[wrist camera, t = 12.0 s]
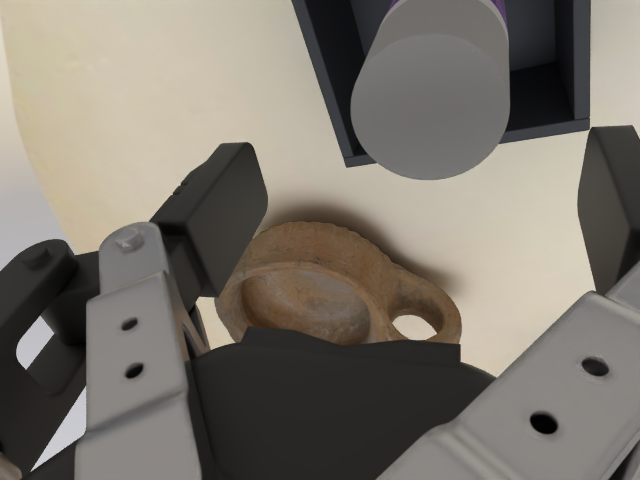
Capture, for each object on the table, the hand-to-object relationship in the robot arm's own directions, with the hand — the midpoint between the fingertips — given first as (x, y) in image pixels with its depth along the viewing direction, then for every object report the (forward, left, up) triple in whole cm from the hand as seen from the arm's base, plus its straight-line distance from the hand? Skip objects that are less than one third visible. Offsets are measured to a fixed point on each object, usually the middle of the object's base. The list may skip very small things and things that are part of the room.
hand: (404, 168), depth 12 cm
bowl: (+20, -8, -18) cm, 28 cm away
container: (0, 0, -18) cm, 18 cm away
